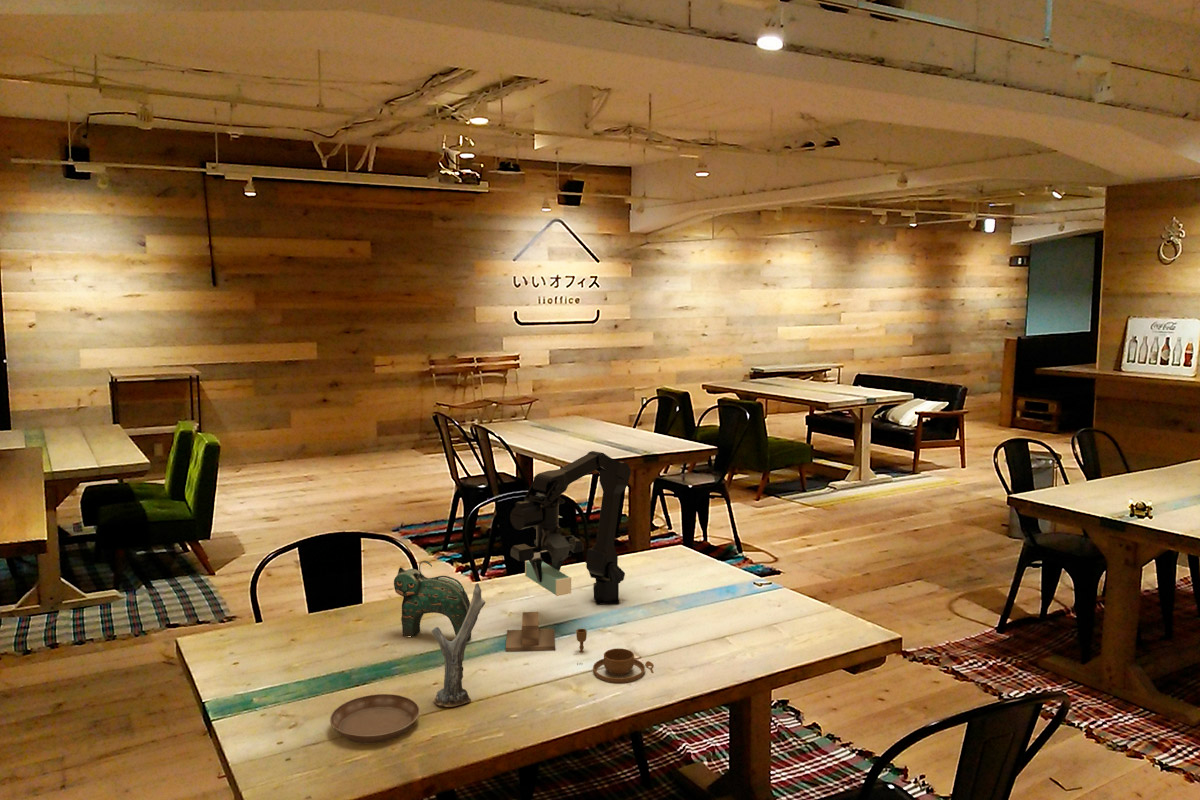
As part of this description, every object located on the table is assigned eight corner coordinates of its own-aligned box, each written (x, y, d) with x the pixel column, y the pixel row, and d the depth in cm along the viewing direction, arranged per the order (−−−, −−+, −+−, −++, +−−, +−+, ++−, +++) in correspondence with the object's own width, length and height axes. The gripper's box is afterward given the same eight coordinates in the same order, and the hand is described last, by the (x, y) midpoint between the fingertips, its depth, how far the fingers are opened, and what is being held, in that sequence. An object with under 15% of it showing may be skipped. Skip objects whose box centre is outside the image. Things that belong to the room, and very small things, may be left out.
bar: (525, 575, 246) (525, 561, 245) (538, 573, 248) (538, 558, 247) (556, 596, 230) (556, 580, 230) (571, 593, 232) (571, 577, 232)
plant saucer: (426, 705, 196) (425, 692, 196) (412, 748, 179) (411, 734, 178) (342, 707, 196) (342, 693, 195) (320, 750, 178) (319, 736, 178)
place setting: (583, 688, 204) (583, 663, 203) (572, 651, 224) (572, 628, 223) (660, 683, 207) (660, 658, 206) (643, 647, 226) (643, 624, 226)
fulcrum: (554, 632, 234) (554, 609, 233) (555, 650, 223) (554, 626, 222) (507, 633, 233) (506, 611, 233) (505, 651, 223) (505, 628, 222)
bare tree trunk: (439, 711, 193) (436, 597, 189) (428, 696, 200) (424, 586, 196) (491, 699, 198) (488, 588, 194) (478, 685, 205) (475, 577, 201)
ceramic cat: (394, 637, 232) (391, 561, 229) (406, 627, 238) (404, 553, 235) (466, 646, 226) (463, 568, 223) (477, 636, 232) (475, 560, 229)
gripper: (528, 534, 225) (528, 595, 227) (594, 524, 235) (593, 583, 237) (509, 524, 235) (509, 583, 237) (573, 515, 244) (573, 571, 246)
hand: (547, 580), depth 239 cm, fingers closed on bar, 4 cm apart
